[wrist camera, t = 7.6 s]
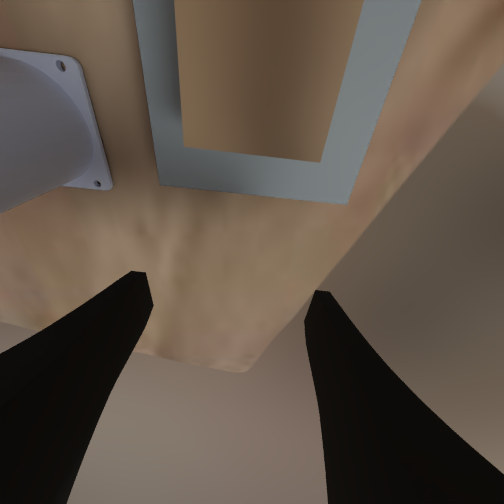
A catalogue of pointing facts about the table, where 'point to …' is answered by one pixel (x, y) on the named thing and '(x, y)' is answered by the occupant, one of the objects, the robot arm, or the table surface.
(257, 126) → the walnut cube
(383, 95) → the base block
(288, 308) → the table surface
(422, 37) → the table surface
